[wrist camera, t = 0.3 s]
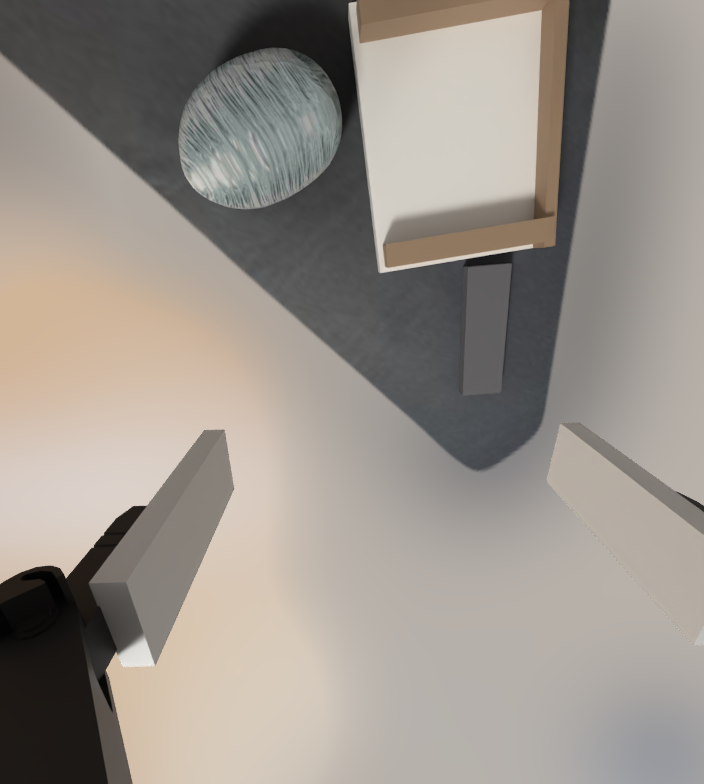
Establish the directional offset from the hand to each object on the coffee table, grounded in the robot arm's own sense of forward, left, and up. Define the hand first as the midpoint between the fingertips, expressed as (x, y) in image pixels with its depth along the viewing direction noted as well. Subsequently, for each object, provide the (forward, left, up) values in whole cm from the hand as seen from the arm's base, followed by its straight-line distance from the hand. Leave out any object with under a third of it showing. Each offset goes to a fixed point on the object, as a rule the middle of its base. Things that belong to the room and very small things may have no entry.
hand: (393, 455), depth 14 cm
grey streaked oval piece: (-17, -6, -27) cm, 32 cm away
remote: (+3, +13, -27) cm, 30 cm away
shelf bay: (-15, +11, -26) cm, 32 cm away
